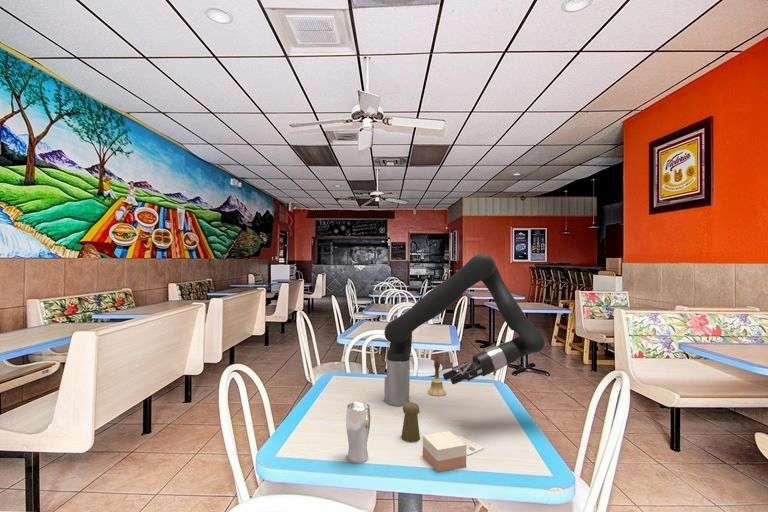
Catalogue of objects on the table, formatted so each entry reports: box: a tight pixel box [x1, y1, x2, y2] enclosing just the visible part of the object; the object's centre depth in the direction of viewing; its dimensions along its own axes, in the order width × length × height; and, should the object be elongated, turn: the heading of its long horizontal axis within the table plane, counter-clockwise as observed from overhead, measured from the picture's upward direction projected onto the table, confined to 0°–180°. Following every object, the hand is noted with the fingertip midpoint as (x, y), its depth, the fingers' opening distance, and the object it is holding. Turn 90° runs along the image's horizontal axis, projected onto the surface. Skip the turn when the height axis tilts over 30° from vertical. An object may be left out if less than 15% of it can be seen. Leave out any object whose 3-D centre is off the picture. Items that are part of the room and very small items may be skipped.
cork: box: [400, 401, 421, 443], centre depth 125 cm, size 6×6×11 cm
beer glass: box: [345, 401, 371, 465], centre depth 111 cm, size 7×7×15 cm
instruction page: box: [457, 435, 485, 457], centre depth 120 cm, size 10×7×1 cm
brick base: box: [422, 430, 467, 473], centre depth 110 cm, size 9×9×6 cm
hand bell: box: [426, 355, 447, 397], centre depth 167 cm, size 8×8×16 cm
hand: (447, 379), depth 130 cm, fingers open, 8 cm apart
